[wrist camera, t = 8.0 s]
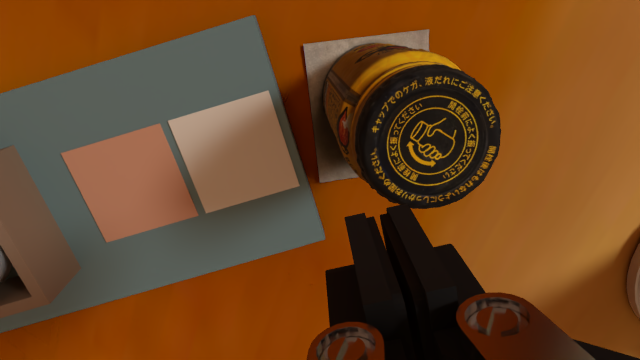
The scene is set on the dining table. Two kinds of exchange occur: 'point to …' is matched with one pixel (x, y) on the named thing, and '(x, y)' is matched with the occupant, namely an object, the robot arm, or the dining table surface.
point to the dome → (4, 265)
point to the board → (147, 174)
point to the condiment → (400, 118)
